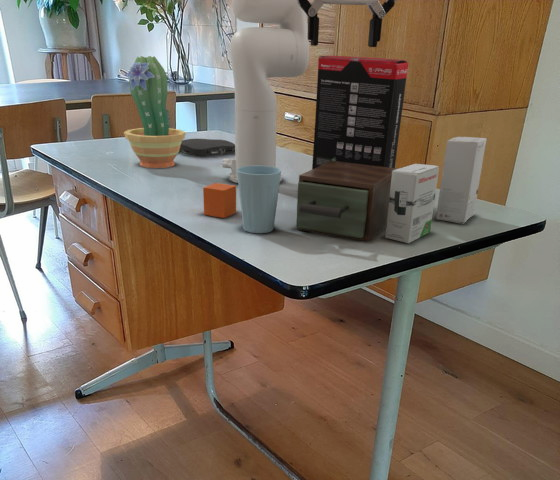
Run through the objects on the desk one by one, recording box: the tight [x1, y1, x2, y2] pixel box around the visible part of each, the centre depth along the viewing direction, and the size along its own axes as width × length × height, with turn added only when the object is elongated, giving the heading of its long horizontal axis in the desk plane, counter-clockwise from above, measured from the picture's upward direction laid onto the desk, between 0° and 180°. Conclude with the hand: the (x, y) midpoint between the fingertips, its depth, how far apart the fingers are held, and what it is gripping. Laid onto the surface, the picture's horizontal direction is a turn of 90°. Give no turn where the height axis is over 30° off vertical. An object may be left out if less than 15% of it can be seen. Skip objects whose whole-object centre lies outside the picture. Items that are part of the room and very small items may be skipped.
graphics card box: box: [311, 55, 409, 170], centre depth 121 cm, size 17×7×27 cm, turn 59°
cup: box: [237, 165, 282, 234], centre depth 104 cm, size 8×8×10 cm
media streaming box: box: [178, 138, 235, 158], centre depth 170 cm, size 15×15×3 cm
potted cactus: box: [123, 55, 186, 169], centre depth 148 cm, size 15×15×25 cm
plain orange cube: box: [202, 182, 237, 219], centre depth 114 cm, size 5×5×5 cm
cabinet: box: [296, 161, 398, 242], centre depth 109 cm, size 16×14×10 cm
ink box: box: [384, 163, 440, 244], centre depth 103 cm, size 9×5×12 cm, turn 141°
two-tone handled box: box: [295, 181, 369, 238], centre depth 105 cm, size 20×12×8 cm, turn 154°
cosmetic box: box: [435, 136, 488, 225], centre depth 114 cm, size 8×6×15 cm
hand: (343, 46), depth 96 cm, fingers open, 9 cm apart
